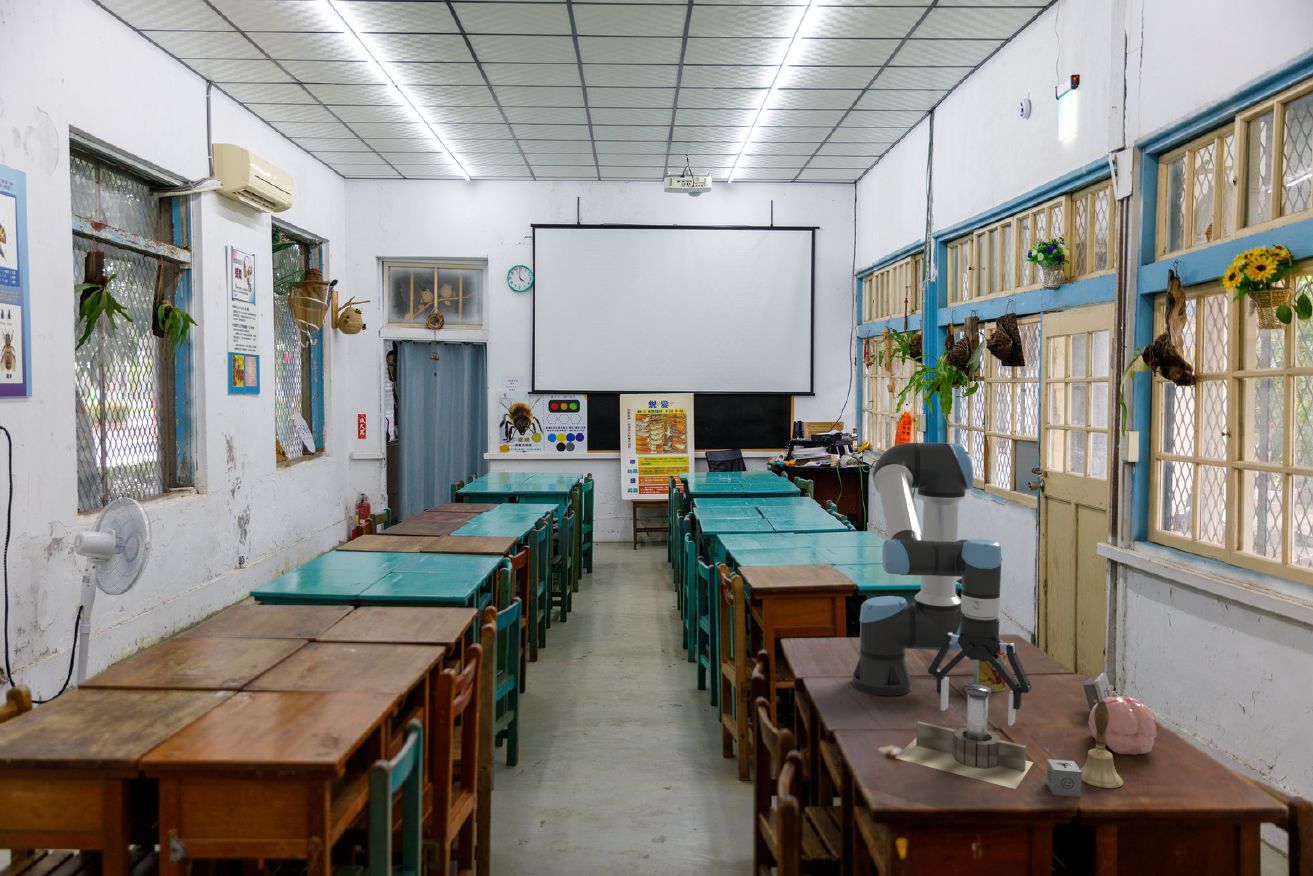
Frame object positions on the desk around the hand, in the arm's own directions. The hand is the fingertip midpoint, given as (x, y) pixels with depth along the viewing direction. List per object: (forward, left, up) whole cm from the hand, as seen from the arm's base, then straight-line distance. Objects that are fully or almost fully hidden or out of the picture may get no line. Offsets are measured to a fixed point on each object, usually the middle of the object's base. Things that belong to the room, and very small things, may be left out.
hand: (977, 716), depth 180 cm
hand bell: (+22, +8, -10) cm, 26 cm away
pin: (0, 0, -9) cm, 9 cm away
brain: (+23, +29, -11) cm, 38 cm away
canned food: (-11, +52, -10) cm, 54 cm away
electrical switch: (+16, +48, -10) cm, 52 cm away
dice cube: (+17, -2, -11) cm, 20 cm away
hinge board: (-2, -2, -10) cm, 11 cm away
